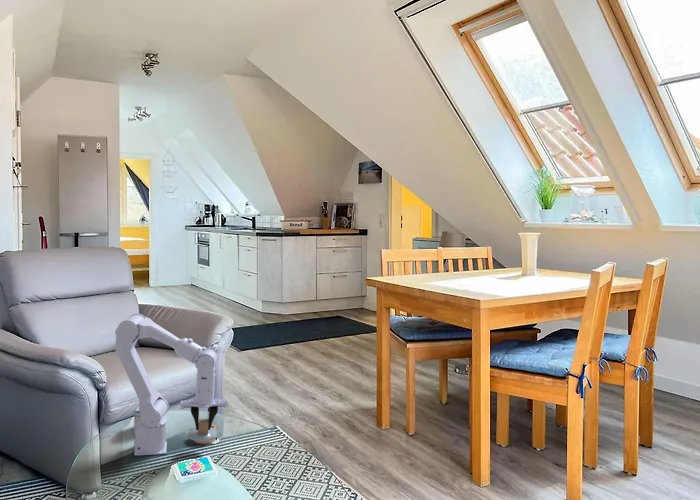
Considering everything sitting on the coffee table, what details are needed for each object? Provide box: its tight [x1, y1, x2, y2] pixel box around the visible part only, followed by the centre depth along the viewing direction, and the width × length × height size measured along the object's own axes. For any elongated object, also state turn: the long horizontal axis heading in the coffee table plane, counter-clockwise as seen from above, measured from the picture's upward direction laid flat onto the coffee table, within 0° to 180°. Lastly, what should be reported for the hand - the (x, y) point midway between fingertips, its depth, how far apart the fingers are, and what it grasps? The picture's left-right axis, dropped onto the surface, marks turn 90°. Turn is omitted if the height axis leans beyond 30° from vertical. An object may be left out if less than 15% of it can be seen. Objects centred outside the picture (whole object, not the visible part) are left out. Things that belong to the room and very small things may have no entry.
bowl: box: [193, 423, 217, 445], centre depth 195 cm, size 7×7×4 cm
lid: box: [187, 418, 218, 442], centre depth 185 cm, size 9×9×5 cm
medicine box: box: [133, 405, 141, 436], centre depth 197 cm, size 8×4×9 cm, turn 5°
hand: (203, 428), depth 185 cm, fingers closed on lid, 3 cm apart
